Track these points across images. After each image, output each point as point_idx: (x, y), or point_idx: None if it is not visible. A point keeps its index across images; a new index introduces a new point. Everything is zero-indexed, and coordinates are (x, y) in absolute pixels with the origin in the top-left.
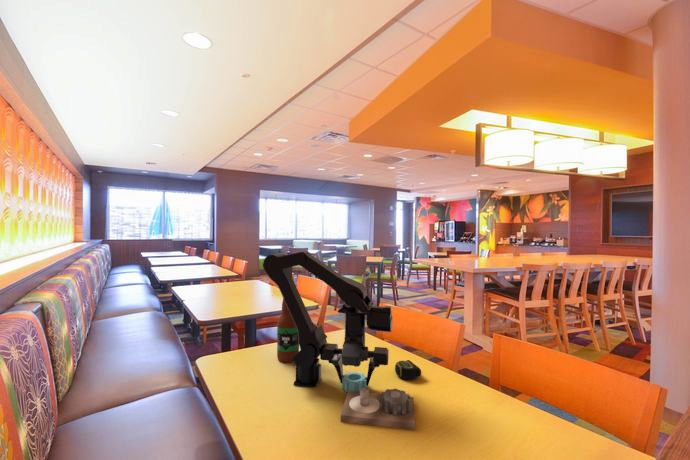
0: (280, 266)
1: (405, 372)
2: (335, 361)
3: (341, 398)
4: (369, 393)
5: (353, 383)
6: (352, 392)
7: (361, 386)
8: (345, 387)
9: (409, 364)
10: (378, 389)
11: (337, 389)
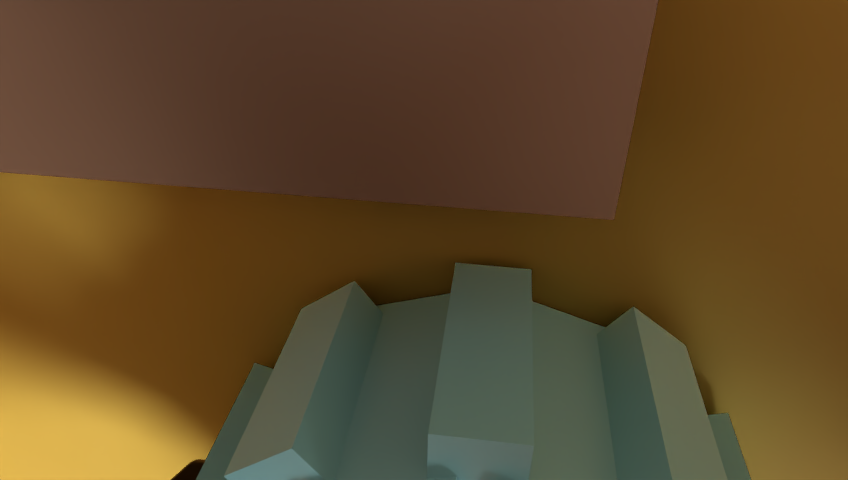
0: None
1: None
2: None
3: (786, 42)
4: (4, 155)
5: (459, 451)
6: (475, 153)
7: (269, 398)
8: (679, 389)
9: None
10: (65, 410)
11: (837, 389)
